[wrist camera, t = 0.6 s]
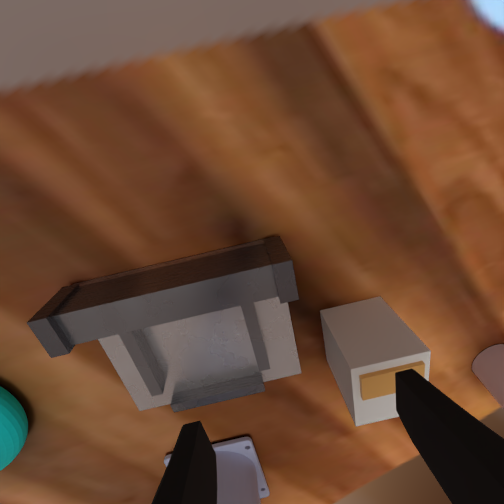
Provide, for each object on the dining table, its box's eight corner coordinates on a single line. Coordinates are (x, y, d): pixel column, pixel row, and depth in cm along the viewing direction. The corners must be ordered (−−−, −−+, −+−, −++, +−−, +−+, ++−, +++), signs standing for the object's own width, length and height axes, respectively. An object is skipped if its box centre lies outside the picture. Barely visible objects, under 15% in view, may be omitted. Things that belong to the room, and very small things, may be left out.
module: (381, 347, 22) (429, 413, 17) (326, 359, 22) (357, 430, 17) (379, 295, 20) (433, 354, 15) (319, 310, 20) (352, 372, 15)
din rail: (303, 366, 22) (318, 412, 19) (138, 404, 22) (121, 458, 19) (277, 232, 18) (292, 260, 14) (67, 282, 18) (26, 322, 14)
